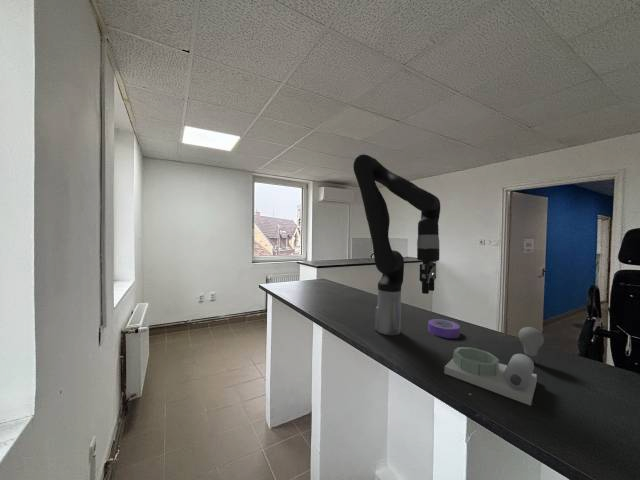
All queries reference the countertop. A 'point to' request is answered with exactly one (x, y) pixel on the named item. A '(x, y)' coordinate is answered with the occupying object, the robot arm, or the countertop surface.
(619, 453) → the countertop surface
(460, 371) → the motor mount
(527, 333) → the lightbulb
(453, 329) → the masking tape
